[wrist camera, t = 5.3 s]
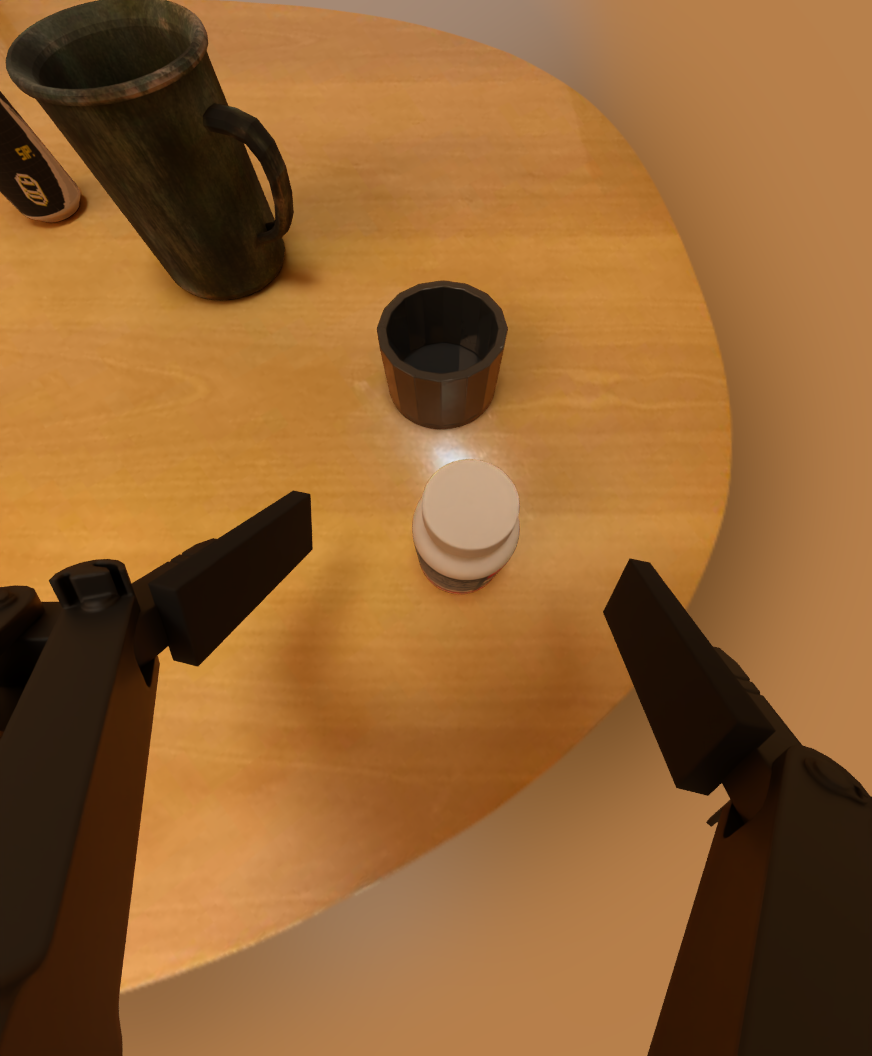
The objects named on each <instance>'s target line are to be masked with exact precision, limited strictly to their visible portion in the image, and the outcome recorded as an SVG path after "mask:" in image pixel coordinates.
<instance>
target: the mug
mask: <svg viewBox="0 0 872 1056" xmlns="http://www.w3.org/2000/svg"><path fill="white" fill-rule="evenodd" d="M207 46H208V37H207V32H206V30H205V27H204V25H203V24H202V22H201V20H200V19H199V18H198V17H197V16H196V15H195V14H194V13H193V12H191V11H190V10H188V9H187V8H185V7H183V6H181V5H179V4H177V3H173V2H170V1H167V0H98V1H93V2H88V3H84V4H81V5H77V6H73V7H70V8H67V9H65V10H62V11H59V12H57V13H54V14H52V15H50V16H48V17H46V18H44V19H42V20H40V21H38V22H36V23H35V24H33V25H32V26H30V27H29V28H27V29H26V30H25V31H24V32H22V33H21V34H20V35H19V36H18V37H17V38H16V39H15V40H14V42H13V43H12V45H11V46H10V48H9V50H8V53H7V57H6V69H7V71H8V74H9V76H10V78H11V79H12V81H13V82H14V83H15V84H16V85H17V87H18V88H19V89H20V90H22V91H23V92H24V93H26V94H27V95H29V96H30V97H33V98H35V99H36V100H37V101H38V102H39V104H40V105H41V106H42V108H43V109H44V110H45V111H46V113H47V114H48V115H49V117H50V118H51V119H52V121H53V122H54V123H55V125H56V126H57V127H58V128H59V130H60V131H61V132H62V134H63V135H64V136H65V138H66V139H67V140H68V142H69V143H70V144H71V146H72V147H73V148H74V150H75V151H76V152H77V153H78V155H79V156H80V157H81V159H82V160H83V161H84V163H85V164H86V165H87V167H88V168H89V169H90V171H91V172H92V173H93V175H94V176H95V177H96V179H97V180H98V181H99V182H100V184H101V185H102V186H103V188H104V189H105V190H106V192H107V193H108V194H109V196H110V197H111V198H112V200H113V201H114V202H115V204H116V205H117V206H118V207H119V209H120V210H121V211H122V213H123V214H124V215H125V217H126V218H127V219H128V221H129V222H130V223H131V225H132V226H133V227H134V229H135V230H136V231H137V232H138V234H139V235H140V236H141V238H142V239H143V240H144V242H145V243H146V244H147V246H148V247H149V248H150V250H151V251H152V252H153V254H154V255H155V256H156V257H157V259H158V260H159V261H160V263H161V264H162V265H163V267H164V268H165V269H166V271H167V272H168V273H169V275H170V276H171V277H172V279H173V280H174V281H175V282H176V283H177V284H178V285H179V286H180V287H182V288H183V289H185V290H187V291H188V292H190V293H192V294H194V295H196V296H199V297H202V298H205V299H211V300H230V299H236V298H240V297H244V296H247V295H250V294H252V293H254V292H256V291H258V290H260V289H262V288H263V287H265V286H266V285H267V284H269V283H270V282H271V281H272V280H273V279H274V278H275V277H276V275H277V274H278V273H279V271H280V269H281V267H282V264H283V261H284V252H285V247H284V242H283V239H282V236H283V235H284V234H286V233H287V232H288V230H289V228H290V225H291V222H292V218H293V213H294V211H293V198H292V190H291V186H290V181H289V177H288V173H287V169H286V165H285V163H284V161H283V159H282V156H281V154H280V152H279V150H278V147H277V145H276V143H275V141H274V139H273V138H272V137H271V135H270V134H269V133H268V132H267V130H266V129H265V128H264V126H263V125H262V124H261V123H260V121H259V120H258V119H257V118H255V117H253V116H251V115H249V114H247V113H245V112H243V111H241V110H239V109H237V108H235V107H230V106H228V104H227V101H226V99H225V96H224V94H223V91H222V89H221V86H220V84H219V81H218V79H217V76H216V74H215V71H214V69H213V66H212V64H211V61H210V59H209V56H208V53H207ZM244 144H246V145H247V146H248V147H249V149H250V150H251V151H252V152H253V154H254V155H255V156H256V157H257V159H258V160H259V161H260V163H261V165H262V167H263V170H264V172H265V174H266V176H267V179H268V181H269V183H270V187H271V191H272V195H273V200H274V204H275V220H274V217H273V215H272V212H271V210H270V207H269V205H268V202H267V200H266V197H265V195H264V192H263V190H262V187H261V185H260V183H259V180H258V178H257V175H256V173H255V170H254V168H253V165H252V163H251V160H250V158H249V155H248V153H247V150H246V148H245V145H244Z"/></svg>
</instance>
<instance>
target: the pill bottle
mask: <svg viewBox="0 0 872 1056" xmlns="http://www.w3.org/2000/svg"><path fill="white" fill-rule="evenodd" d="M519 509H520V503H519V496H518V493H517V490H516V488H515V486H514V484H513V482H512V481H511V479H510V478H509V477H508V476H507V475H506V474H505V473H504V472H503V471H502V470H501V469H499V468H498V467H496V466H494V465H492V464H490V463H488V462H485V461H481V460H474V459H465V460H458V461H454V462H451V463H449V464H447V465H445V466H443V467H442V468H440V469H439V470H438V471H436V472H435V473H434V474H433V475H432V477H431V478H430V479H429V481H428V482H427V485H426V486H425V489H424V492H423V496H422V498H421V499H420V501H419V502H418V504H417V507H416V509H415V513H414V517H413V524H412V533H413V540H414V544H415V548H416V551H417V555H418V558H419V562H420V565H421V568H422V570H423V572H424V574H425V576H426V577H427V578H428V579H429V581H430V582H431V583H433V584H434V585H435V586H436V587H438V588H440V589H441V590H444V591H446V592H449V593H454V594H467V593H471V592H474V591H477V590H479V589H481V588H483V587H484V586H485V585H487V584H488V583H489V582H490V581H491V580H492V579H493V577H494V576H495V575H496V574H497V573H498V572H499V571H500V570H501V569H502V567H503V566H504V565H505V564H506V563H507V562H508V560H509V559H510V558H511V556H512V554H513V553H514V551H515V548H516V546H517V543H518V539H519V530H520V526H519V517H518V516H519Z"/></svg>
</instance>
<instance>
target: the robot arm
mask: <svg viewBox="0 0 872 1056" xmlns="http://www.w3.org/2000/svg"><path fill="white" fill-rule="evenodd" d="M312 549H313V548H312V522H311V497H310V494H307V493H303V492H298V491H292V492H290V493H289V494H287V495H286V496H284V497H282V498H281V499H279V500H278V501H276V502H275V503H273V504H272V505H270V506H268V507H267V508H265V509H264V510H262V511H261V512H259V513H257V514H256V515H254V516H253V517H251V518H250V519H248V520H247V521H245V522H243V523H242V524H240V525H239V526H237V527H236V528H234V529H232V530H231V531H229V532H228V533H226V534H225V535H223V536H221V537H220V538H218V539H214V538H213V539H210V540H207V541H204V542H201V543H199V544H196V545H194V546H193V547H191V548H189V549H188V550H186V551H184V552H183V553H182V555H178V556H176V557H175V558H173V559H171V561H170V562H166V563H165V564H163V565H162V566H160V567H158V568H157V569H155V570H153V571H152V572H150V573H148V574H147V575H145V576H144V577H142V578H140V579H139V580H137V581H135V582H134V583H132V584H131V581H130V578H129V576H128V573H127V570H126V567H125V565H124V564H123V563H122V562H120V561H118V560H111V559H101V560H92V561H87V562H82V563H79V564H76V565H73V566H70V567H67V568H65V569H64V570H62V571H60V572H58V573H56V574H55V575H54V576H53V577H52V578H51V579H50V580H49V582H50V584H51V586H52V588H53V590H54V592H55V594H56V596H57V598H58V600H59V602H41V601H40V599H39V597H38V595H37V593H36V592H35V590H34V589H33V588H30V587H28V586H8V587H0V1056H122V1034H121V1028H120V1021H119V992H120V983H121V975H122V967H123V959H124V951H125V942H126V934H127V926H128V918H129V910H130V902H131V894H132V886H133V877H134V869H135V861H136V853H137V845H138V837H139V829H140V821H141V812H142V804H143V796H144V788H145V780H146V772H147V764H148V756H149V747H150V739H151V731H152V723H153V715H154V707H155V699H156V691H157V682H158V674H159V666H160V663H159V659H158V656H157V655H158V654H159V653H161V652H162V651H163V650H164V649H165V648H166V647H167V646H169V649H170V652H171V655H172V658H173V660H174V661H178V662H182V663H186V664H190V665H194V666H199V665H200V664H201V663H202V662H203V661H204V660H205V659H206V658H207V657H208V656H209V655H210V654H211V653H212V652H213V651H214V650H215V649H216V648H217V647H218V646H219V645H220V644H221V643H222V642H223V640H224V639H225V638H226V637H227V636H228V635H229V634H230V633H231V632H232V631H233V630H234V629H235V628H236V627H237V626H238V625H239V624H240V623H241V622H242V621H243V620H244V619H245V618H246V617H247V616H248V615H249V614H250V613H251V612H252V611H253V610H254V609H255V608H256V607H257V606H258V605H259V604H260V603H261V602H262V601H263V600H264V599H265V597H266V596H267V595H268V594H269V593H270V592H271V591H272V590H273V589H274V588H275V587H276V586H277V585H278V584H279V583H280V582H281V581H282V580H283V579H284V578H285V577H286V576H287V575H288V574H289V573H290V572H291V571H292V570H293V569H294V568H295V567H296V566H297V565H298V564H299V563H300V562H301V561H302V560H303V559H304V558H305V557H306V556H307V555H308V553H309V552H310V551H311V550H312ZM603 613H604V615H605V618H606V620H607V623H608V625H609V627H610V630H611V632H612V635H613V637H614V639H615V642H616V644H617V647H618V649H619V651H620V654H621V656H622V659H623V661H624V663H625V666H626V668H627V671H628V673H629V675H630V678H631V680H632V683H633V685H634V687H635V690H636V692H637V695H638V697H639V699H640V702H641V704H642V706H643V709H644V711H645V714H646V716H647V718H648V721H649V723H650V726H651V728H652V730H653V733H654V735H655V738H656V740H657V742H658V744H659V747H660V749H661V752H662V754H663V757H664V759H665V761H666V764H667V766H668V769H669V771H670V774H671V776H672V778H673V781H674V783H675V785H676V788H679V789H683V790H687V791H691V792H695V793H700V794H704V795H707V796H708V795H709V794H710V793H711V792H713V791H714V790H715V789H716V788H717V787H718V786H719V785H720V784H721V783H722V784H723V786H724V788H725V789H726V791H727V793H728V795H729V797H730V800H729V801H728V802H727V803H726V804H725V805H724V806H723V807H722V808H720V809H719V810H718V811H717V812H716V813H715V814H714V815H713V816H711V817H710V818H709V820H708V821H707V824H709V825H710V826H713V825H714V824H715V823H716V822H718V825H717V828H716V831H715V835H714V838H713V841H712V845H711V848H710V851H709V854H708V858H707V861H706V865H705V868H704V871H703V874H702V877H701V881H700V884H699V887H698V891H697V894H696V897H695V900H694V904H693V907H692V911H691V914H690V917H689V920H688V924H687V927H686V930H685V934H684V937H683V940H682V943H681V947H680V950H679V953H678V956H677V960H676V963H675V966H674V970H673V973H672V976H671V980H670V983H669V986H668V989H667V993H666V996H665V999H664V1003H663V1006H662V1009H661V1012H660V1016H659V1019H658V1022H657V1026H656V1029H655V1032H654V1035H653V1039H652V1042H651V1045H650V1049H649V1052H648V1055H647V1056H872V797H871V796H870V795H869V794H868V793H867V791H866V790H865V789H864V788H863V786H862V785H861V784H860V782H858V781H857V780H856V779H855V778H854V777H853V776H852V775H851V774H850V773H849V772H848V771H847V770H846V769H844V768H843V767H842V766H840V765H839V764H838V763H836V762H835V761H833V760H832V759H831V758H829V757H827V756H826V755H824V754H822V753H820V752H818V751H816V750H814V749H812V748H808V747H805V746H802V744H801V743H800V742H799V741H798V739H797V738H796V737H795V736H794V734H793V733H792V732H791V731H790V729H789V728H788V727H787V725H786V724H785V723H784V722H783V720H782V719H781V718H780V717H779V715H778V714H777V713H776V712H775V710H774V709H773V708H772V706H771V705H770V704H769V703H768V701H767V700H766V699H765V698H764V696H762V695H760V691H759V690H758V689H757V688H756V686H755V685H754V684H753V683H752V682H750V681H749V680H750V679H749V677H748V676H747V675H746V674H745V672H744V671H743V670H742V669H741V667H740V666H739V665H738V664H737V663H736V662H735V661H734V660H733V659H732V658H731V657H729V656H728V655H727V654H726V653H725V652H724V651H722V650H721V649H720V648H717V647H713V646H712V645H711V644H710V643H709V641H708V640H707V638H706V637H705V636H704V634H703V633H702V632H701V630H700V629H699V628H698V626H697V625H696V624H695V622H694V621H693V620H692V618H691V617H690V616H689V614H688V613H687V612H686V610H685V609H684V608H683V606H682V605H681V604H680V602H679V601H678V600H677V598H676V597H675V596H674V594H673V593H672V592H671V590H670V589H669V588H668V586H667V585H666V584H665V582H664V581H663V580H662V578H661V577H660V576H659V574H658V573H657V572H656V570H655V569H654V568H653V566H652V565H651V564H650V563H649V562H644V561H639V560H634V559H629V561H628V563H627V565H626V567H625V569H624V571H623V573H622V575H621V577H620V579H619V581H618V583H617V585H616V587H615V589H614V591H613V593H612V595H611V597H610V599H609V601H608V603H607V605H606V607H605V609H604V611H603Z"/></svg>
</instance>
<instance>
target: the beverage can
mask: <svg viewBox="0 0 872 1056" xmlns="http://www.w3.org/2000/svg"><path fill="white" fill-rule="evenodd" d="M0 192H1V193H2V194H3V195H4V196H5V197H6V198H7V199H8V200H9V201H10V202H11V203H12V204H13V205H14V206H15V207H16V208H17V209H18V210H19V211H20V212H21V213H22V214H23V215H24V216H26V217H28V218H30V219H34V220H41V221H44V222H58V221H61V220H64V219H66V218H68V217H70V216H71V215H73V214H74V213H75V212H76V211H77V209H78V208H79V200H80V196H81V193H80V189H79V188H78V186H77V185H76V183H75V182H74V181H73V180H72V178H71V177H70V176H69V175H68V174H67V172H66V171H65V170H64V169H63V167H62V166H61V165H60V164H59V163H58V161H57V160H56V159H55V158H54V156H53V155H52V154H51V153H50V152H49V150H48V149H47V148H46V147H45V145H44V144H43V143H42V142H41V140H40V139H39V138H38V137H37V136H36V134H35V133H34V132H33V131H32V129H31V128H30V127H29V126H28V125H27V123H26V122H25V121H24V120H23V118H22V117H21V116H20V115H19V114H18V112H17V111H16V110H15V109H14V107H13V106H12V105H11V104H10V103H9V101H8V100H7V99H6V98H5V96H4V95H3V94H2V93H1V91H0Z"/></svg>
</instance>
